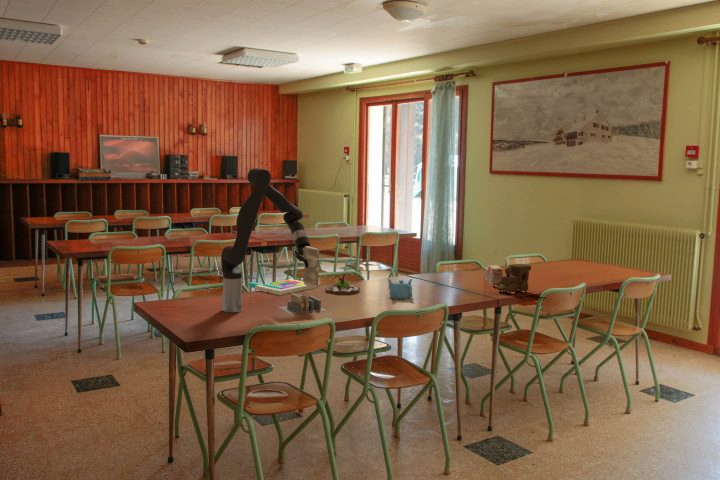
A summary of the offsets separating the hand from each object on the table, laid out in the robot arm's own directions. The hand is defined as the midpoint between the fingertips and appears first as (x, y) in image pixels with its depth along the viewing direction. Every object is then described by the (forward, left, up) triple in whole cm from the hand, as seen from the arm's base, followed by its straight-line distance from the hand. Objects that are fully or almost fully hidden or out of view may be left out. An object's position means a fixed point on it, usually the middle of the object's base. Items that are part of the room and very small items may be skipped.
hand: (310, 266), depth 337 cm
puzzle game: (+8, +58, -24) cm, 64 cm away
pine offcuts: (-6, -2, -21) cm, 22 cm away
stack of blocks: (+141, +20, -23) cm, 144 cm away
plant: (+38, +35, -24) cm, 57 cm away
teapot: (+61, +8, -23) cm, 66 cm away
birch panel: (0, -1, -10) cm, 10 cm away
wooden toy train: (+135, -6, -23) cm, 137 cm away
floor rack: (-5, -2, -23) cm, 23 cm away
